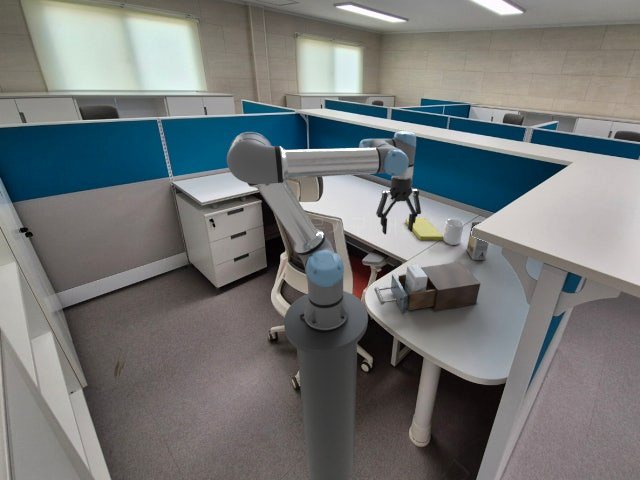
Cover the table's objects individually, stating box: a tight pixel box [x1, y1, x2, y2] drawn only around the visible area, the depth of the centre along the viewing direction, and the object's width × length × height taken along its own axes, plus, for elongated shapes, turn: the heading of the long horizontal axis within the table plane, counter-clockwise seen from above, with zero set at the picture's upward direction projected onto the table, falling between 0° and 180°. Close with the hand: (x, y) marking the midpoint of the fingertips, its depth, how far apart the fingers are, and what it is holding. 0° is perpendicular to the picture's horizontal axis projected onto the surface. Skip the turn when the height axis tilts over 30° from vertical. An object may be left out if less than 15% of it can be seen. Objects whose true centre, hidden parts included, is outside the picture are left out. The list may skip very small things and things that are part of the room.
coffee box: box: [466, 221, 490, 261], centre depth 145 cm, size 9×6×16 cm
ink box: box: [404, 263, 428, 297], centre depth 113 cm, size 8×5×12 cm, turn 17°
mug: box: [443, 218, 465, 246], centre depth 159 cm, size 12×9×11 cm
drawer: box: [373, 273, 437, 314], centre depth 114 cm, size 24×13×8 cm, turn 106°
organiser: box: [420, 261, 481, 312], centre depth 118 cm, size 18×15×10 cm
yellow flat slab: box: [405, 217, 444, 241], centre depth 169 cm, size 12×2×24 cm
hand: (397, 231), depth 117 cm, fingers open, 10 cm apart
